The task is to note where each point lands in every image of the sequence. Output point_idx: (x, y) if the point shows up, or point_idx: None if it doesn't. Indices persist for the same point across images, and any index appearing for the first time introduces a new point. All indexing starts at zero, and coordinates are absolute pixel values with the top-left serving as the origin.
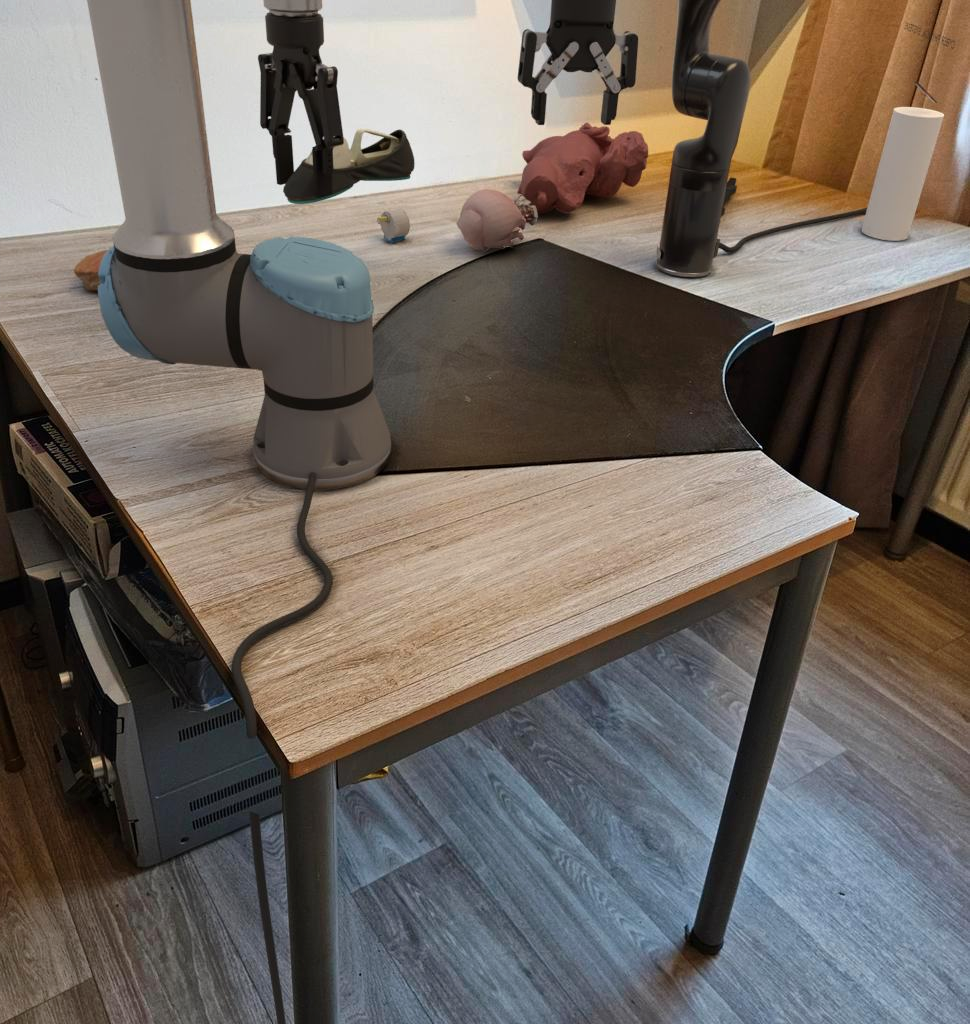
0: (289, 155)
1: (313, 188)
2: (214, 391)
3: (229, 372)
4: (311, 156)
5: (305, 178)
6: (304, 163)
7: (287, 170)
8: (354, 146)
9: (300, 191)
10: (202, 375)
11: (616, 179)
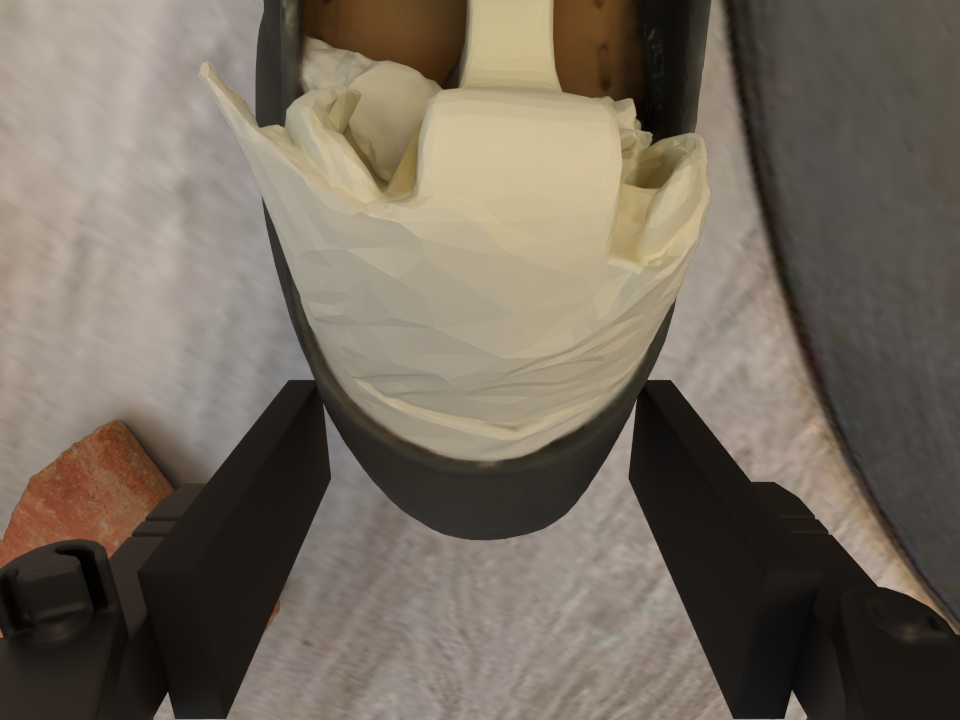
0: (270, 498)
1: (592, 467)
2: (723, 712)
3: (687, 662)
4: (427, 417)
5: (536, 500)
6: (435, 466)
7: (304, 464)
8: None
9: (553, 519)
10: (657, 695)
11: None
